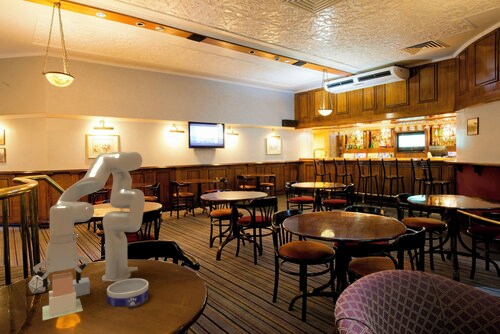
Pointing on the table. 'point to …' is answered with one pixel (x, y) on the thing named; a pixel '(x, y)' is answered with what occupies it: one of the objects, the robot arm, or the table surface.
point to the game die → (37, 284)
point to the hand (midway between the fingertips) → (62, 285)
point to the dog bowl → (128, 293)
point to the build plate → (47, 315)
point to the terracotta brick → (62, 284)
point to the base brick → (62, 303)
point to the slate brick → (82, 286)
